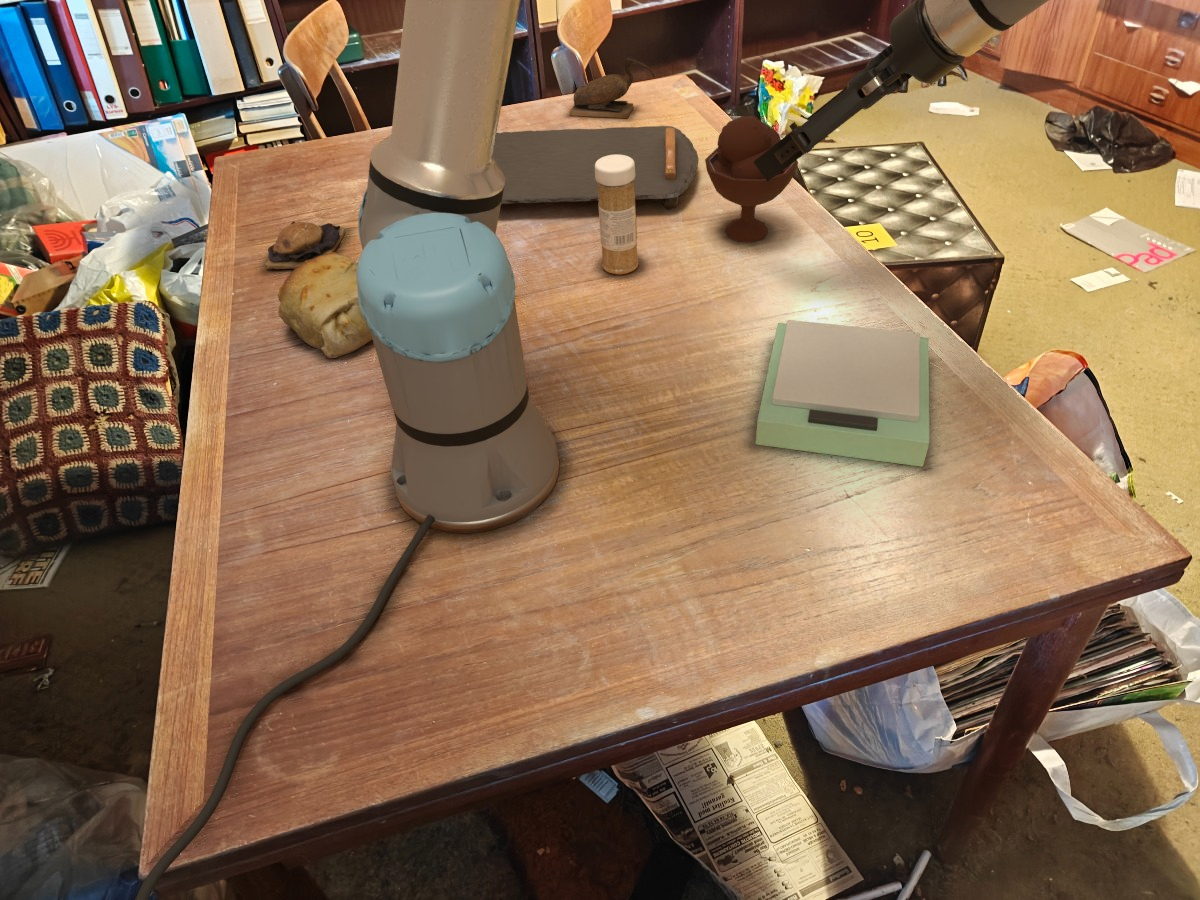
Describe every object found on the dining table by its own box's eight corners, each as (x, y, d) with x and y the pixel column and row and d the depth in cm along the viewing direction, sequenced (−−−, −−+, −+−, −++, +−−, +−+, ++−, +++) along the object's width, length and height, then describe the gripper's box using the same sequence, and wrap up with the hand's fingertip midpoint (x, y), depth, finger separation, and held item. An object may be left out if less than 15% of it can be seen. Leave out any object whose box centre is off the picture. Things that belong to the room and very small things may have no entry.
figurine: (658, 109, 141) (657, 54, 135) (652, 120, 138) (651, 64, 132) (577, 105, 144) (573, 51, 138) (569, 116, 141) (565, 61, 135)
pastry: (302, 294, 105) (282, 235, 99) (403, 288, 104) (388, 229, 99) (271, 364, 94) (246, 302, 89) (383, 358, 94) (365, 295, 89)
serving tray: (415, 223, 117) (406, 180, 112) (447, 151, 134) (439, 111, 129) (700, 214, 114) (701, 170, 109) (695, 142, 130) (696, 101, 126)
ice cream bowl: (789, 254, 105) (801, 134, 95) (698, 250, 107) (700, 132, 97) (792, 213, 112) (804, 98, 102) (707, 210, 114) (710, 96, 104)
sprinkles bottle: (637, 255, 107) (633, 151, 98) (639, 274, 103) (636, 168, 94) (600, 258, 107) (593, 154, 98) (602, 277, 104) (594, 171, 94)
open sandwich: (322, 273, 109) (313, 247, 106) (260, 271, 110) (250, 245, 107) (351, 231, 116) (344, 206, 114) (293, 230, 117) (285, 205, 115)
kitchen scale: (922, 467, 77) (931, 435, 74) (755, 444, 80) (757, 413, 78) (922, 361, 88) (930, 330, 85) (775, 345, 91) (778, 315, 89)
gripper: (920, 103, 76) (757, 219, 93) (1006, 21, 90) (851, 134, 107) (872, 32, 75) (716, 162, 92) (967, -40, 89) (817, 84, 106)
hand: (789, 147), depth 99 cm, fingers open, 13 cm apart
